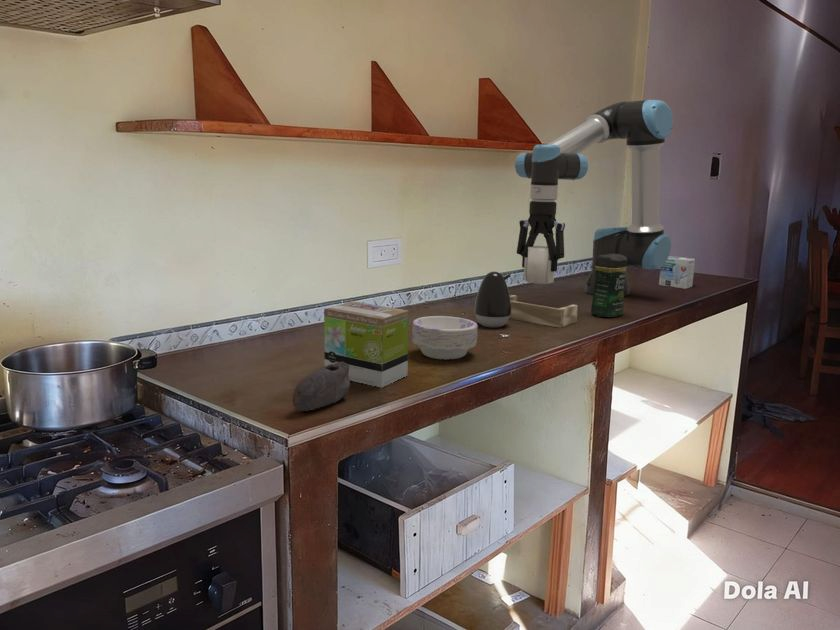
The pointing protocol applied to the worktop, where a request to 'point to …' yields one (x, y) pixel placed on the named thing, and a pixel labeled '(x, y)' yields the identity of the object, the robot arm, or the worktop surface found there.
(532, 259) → the white domed cylinder
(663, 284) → the light bulb box
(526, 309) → the rest cradle
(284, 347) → the worktop surface
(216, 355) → the worktop surface
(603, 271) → the coffee jar
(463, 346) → the paper bowls
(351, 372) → the tea box
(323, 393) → the perforated stone tool
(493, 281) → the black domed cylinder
